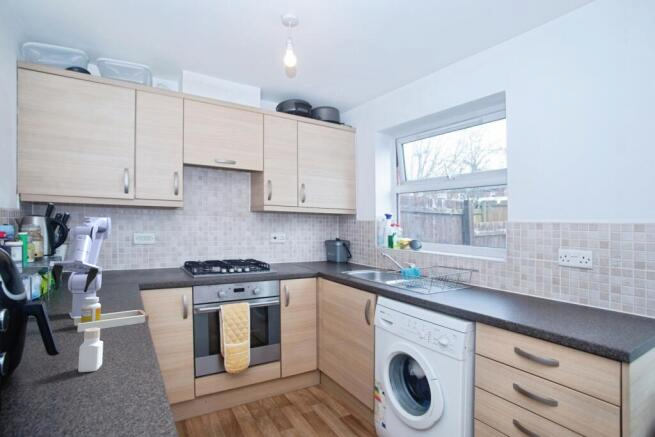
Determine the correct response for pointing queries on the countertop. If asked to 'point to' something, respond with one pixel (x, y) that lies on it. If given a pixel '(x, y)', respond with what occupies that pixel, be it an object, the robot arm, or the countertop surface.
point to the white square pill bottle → (90, 351)
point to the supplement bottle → (91, 310)
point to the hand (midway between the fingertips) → (71, 289)
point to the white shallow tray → (113, 320)
